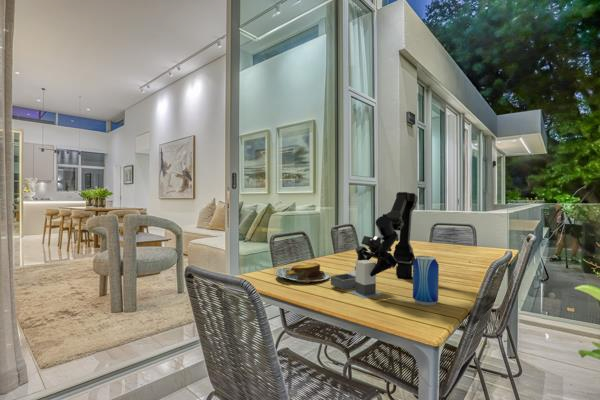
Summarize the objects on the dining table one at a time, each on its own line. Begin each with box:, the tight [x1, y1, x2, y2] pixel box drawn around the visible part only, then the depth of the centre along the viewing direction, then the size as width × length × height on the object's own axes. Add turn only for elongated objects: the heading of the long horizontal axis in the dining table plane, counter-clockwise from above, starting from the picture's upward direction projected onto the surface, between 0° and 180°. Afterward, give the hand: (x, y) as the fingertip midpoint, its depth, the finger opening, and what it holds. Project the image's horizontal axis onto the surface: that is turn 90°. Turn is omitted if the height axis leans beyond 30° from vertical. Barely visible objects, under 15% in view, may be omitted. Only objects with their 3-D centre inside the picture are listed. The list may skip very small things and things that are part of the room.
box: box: [354, 259, 377, 296], centre depth 121 cm, size 5×5×12 cm
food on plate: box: [273, 262, 331, 284], centre depth 144 cm, size 25×25×7 cm
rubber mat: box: [347, 289, 385, 299], centre depth 121 cm, size 10×10×1 cm
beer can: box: [412, 255, 440, 306], centre depth 112 cm, size 8×8×16 cm
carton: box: [325, 269, 356, 290], centre depth 131 cm, size 14×8×5 cm, turn 117°
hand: (362, 273), depth 120 cm, fingers open, 9 cm apart
